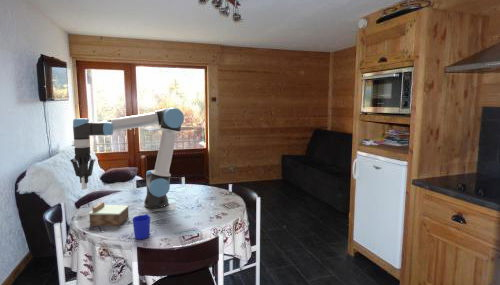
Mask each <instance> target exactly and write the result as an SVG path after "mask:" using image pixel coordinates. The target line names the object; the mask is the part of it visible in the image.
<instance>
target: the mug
mask: <svg viewBox="0 0 500 285" xmlns="http://www.w3.org/2000/svg"><path fill="white" fill-rule="evenodd" d="M132 225H133V234H134V238H135V239H136V240H145V239H147V238H149V236H150V230H151V229H150V228H151V216H150V215H149V214H148V213H145V214H139V215H137V216H134V217H132Z"/></svg>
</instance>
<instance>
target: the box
mask: <svg viewBox="0 0 500 285" xmlns="http://www.w3.org/2000/svg"><path fill="white" fill-rule="evenodd" d="M129 217H130V216H129V207H128V208H127V209H126V210H125V211H123V212H122V213H121V214H120V215H89V225H90V226H97V225H100V226H101V227H102V226H105V227H106V226H107V227H110V226H111V227H113V226H114V227H119V226H121V225H122V224H123V223H124V222H126V220H128V218H129ZM100 226H99V227H100Z"/></svg>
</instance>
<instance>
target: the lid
mask: <svg viewBox="0 0 500 285" xmlns="http://www.w3.org/2000/svg"><path fill="white" fill-rule="evenodd" d="M127 208H128V209H129V208H130V205H126V204H125V205H122V204H121V205H120V204H116V205H115V204H105V201H100V202H99V203H97V204H96V205H94V206H92V210H91V211H89V212H88V214H87V215H120V214H121V213H122V212H123V211H125V210H126V209H127Z"/></svg>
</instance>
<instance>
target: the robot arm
mask: <svg viewBox="0 0 500 285" xmlns="http://www.w3.org/2000/svg"><path fill="white" fill-rule="evenodd" d="M184 121H185V116H184V113H183V111H182V110H181V109H180V108H177V107H173V106H172V107H171V106H169V107H164V108H163V109H157V110H154V112H149V113H143V114H142V113H141V114H136V115H130V116H124V117H117V118H109V119H102V120H99V121H90V120H89V118H87V117H86V118H85V117H83V118H79V117H78V118H74V119H72V128H73V129H72V130H73V131H72V132H73V146H74V154H75V155H74V158H72V159H70V162H71V165H72V166H73V170H74V173H75V176H76V177H79V183H80V184H81V190H86V189H88V183H89V177H90V176H92V174H93V171H94V170H93V169H94V164H95V163H96V159H95V158H93V157H92V156H91V147H90V146H91V143H90V142H91V141H90V137H92V136H93V137H94V136H95V137H96V136H113V134H114V132H118V131H124V130H129V129H130V130H131V129H137V128H142V127H149V126H155V125H157V126H158V127H159V126H160V127H159V128H160V130H161V136H160V141H159V145H158V146H159V147H158V149H157V150H158V151H157V156H156V161H155V165H154V169H151V170H147V171H146V174H145V177H146V195H145V199H144V207H145V208H147V207H150V208H149V209H156V208H155V207H161V206H164V205H167V204H168V205H169V198H168V195H167V194H168V193H169V191H170V189H171V185H170V184H171V183H170V181H171V177H172V174H171V173H170V168H171V164H172V159H173V154H174V150H175V149H174V148H175V144H176V138H177V134H178V133H180V132H181V128H182V126H183V124H184ZM168 205H167V206H168ZM164 207H165V206H164ZM161 208H162V207H161Z"/></svg>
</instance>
